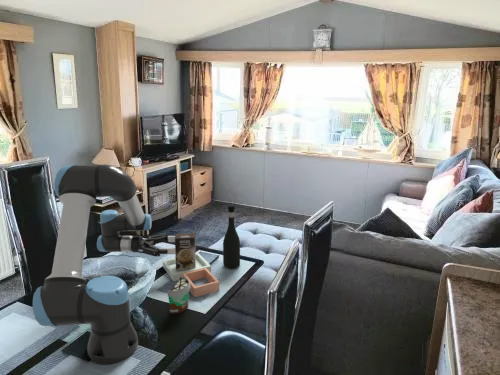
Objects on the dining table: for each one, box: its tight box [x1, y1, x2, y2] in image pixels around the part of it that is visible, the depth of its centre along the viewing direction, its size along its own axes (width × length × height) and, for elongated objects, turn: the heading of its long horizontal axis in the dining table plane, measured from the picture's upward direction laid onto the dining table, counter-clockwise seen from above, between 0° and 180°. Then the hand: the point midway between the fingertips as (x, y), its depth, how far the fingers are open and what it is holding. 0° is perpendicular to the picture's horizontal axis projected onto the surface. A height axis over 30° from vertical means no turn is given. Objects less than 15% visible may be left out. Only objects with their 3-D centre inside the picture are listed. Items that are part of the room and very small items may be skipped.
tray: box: [162, 252, 212, 282], centre depth 168 cm, size 18×16×3 cm
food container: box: [167, 276, 191, 315], centre depth 137 cm, size 12×6×10 cm, turn 168°
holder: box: [183, 268, 220, 298], centre depth 153 cm, size 11×14×4 cm
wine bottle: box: [222, 204, 241, 270], centre depth 168 cm, size 8×8×30 cm
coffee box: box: [174, 232, 196, 271], centre depth 165 cm, size 9×6×16 cm
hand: (178, 244), depth 165 cm, fingers open, 13 cm apart
